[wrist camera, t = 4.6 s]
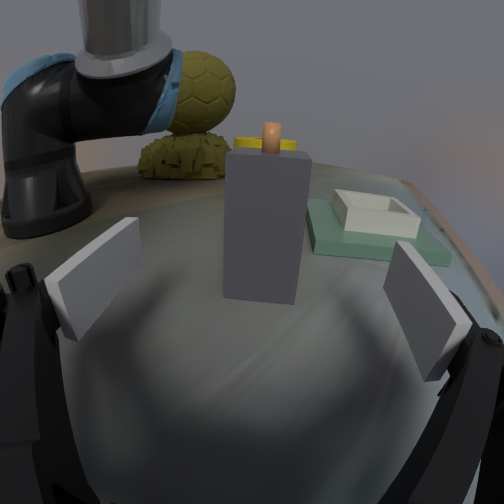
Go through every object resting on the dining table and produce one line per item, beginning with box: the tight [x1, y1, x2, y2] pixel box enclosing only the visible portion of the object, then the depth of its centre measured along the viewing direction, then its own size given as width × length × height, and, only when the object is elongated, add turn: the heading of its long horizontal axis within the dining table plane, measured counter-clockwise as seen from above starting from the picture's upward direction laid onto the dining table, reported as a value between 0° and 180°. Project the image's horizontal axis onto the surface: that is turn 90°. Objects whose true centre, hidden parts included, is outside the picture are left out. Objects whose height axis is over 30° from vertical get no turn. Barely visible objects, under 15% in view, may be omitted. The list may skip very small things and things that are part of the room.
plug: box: [224, 122, 312, 305], centre depth 20 cm, size 5×5×12 cm
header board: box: [306, 189, 452, 266], centre depth 33 cm, size 16×16×4 cm
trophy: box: [137, 51, 236, 179], centre depth 60 cm, size 22×22×30 cm
